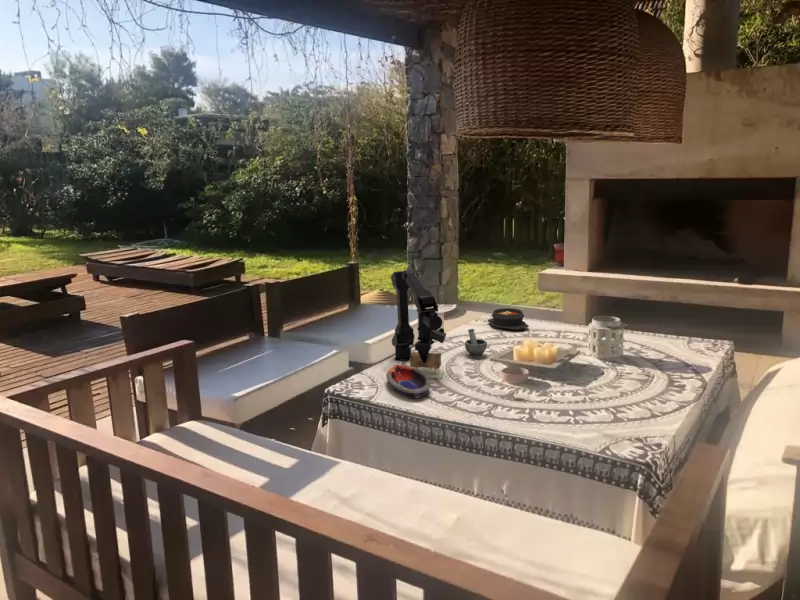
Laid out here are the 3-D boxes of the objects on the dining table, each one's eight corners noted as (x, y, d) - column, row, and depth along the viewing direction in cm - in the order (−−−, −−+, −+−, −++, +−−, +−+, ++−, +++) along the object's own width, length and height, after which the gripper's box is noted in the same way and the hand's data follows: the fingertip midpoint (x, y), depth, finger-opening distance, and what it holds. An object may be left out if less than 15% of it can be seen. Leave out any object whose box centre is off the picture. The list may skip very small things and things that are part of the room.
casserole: (537, 329, 333) (537, 313, 331) (508, 334, 324) (508, 318, 323) (507, 319, 355) (507, 304, 353) (479, 324, 346) (479, 309, 344)
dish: (398, 404, 237) (397, 391, 236) (380, 376, 266) (380, 364, 265) (438, 399, 240) (438, 386, 239) (417, 372, 269) (416, 360, 268)
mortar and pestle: (490, 358, 287) (490, 332, 284) (471, 361, 284) (471, 334, 281) (479, 351, 297) (479, 326, 295) (460, 354, 294) (460, 328, 292)
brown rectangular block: (410, 366, 266) (410, 355, 265) (412, 363, 271) (412, 351, 270) (439, 368, 264) (438, 356, 262) (441, 364, 268) (440, 353, 267)
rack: (407, 377, 265) (407, 368, 264) (410, 370, 273) (410, 362, 272) (441, 378, 262) (441, 369, 262) (443, 371, 271) (443, 363, 270)
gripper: (442, 330, 253) (442, 368, 256) (447, 319, 271) (447, 354, 274) (414, 330, 255) (415, 367, 258) (420, 318, 273) (421, 353, 276)
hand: (425, 360), depth 267 cm, fingers open, 6 cm apart
